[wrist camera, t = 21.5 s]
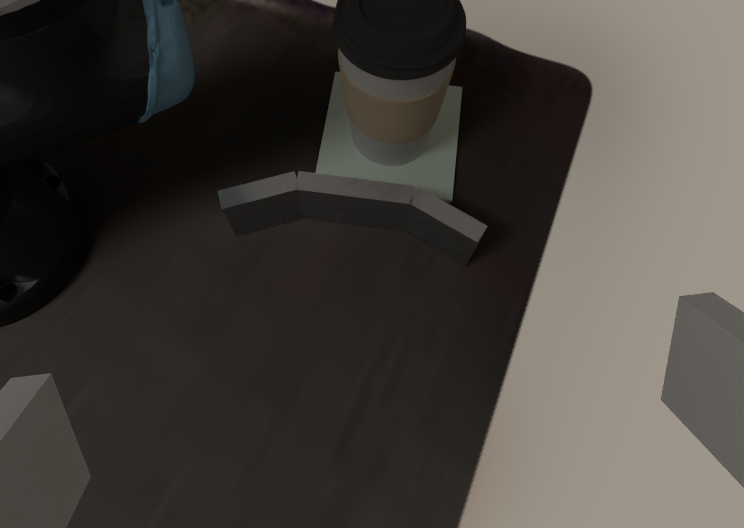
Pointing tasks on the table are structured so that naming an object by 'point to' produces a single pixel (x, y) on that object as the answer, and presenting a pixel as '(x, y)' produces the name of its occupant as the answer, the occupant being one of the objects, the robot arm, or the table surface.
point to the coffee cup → (396, 71)
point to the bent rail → (352, 209)
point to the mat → (425, 171)
